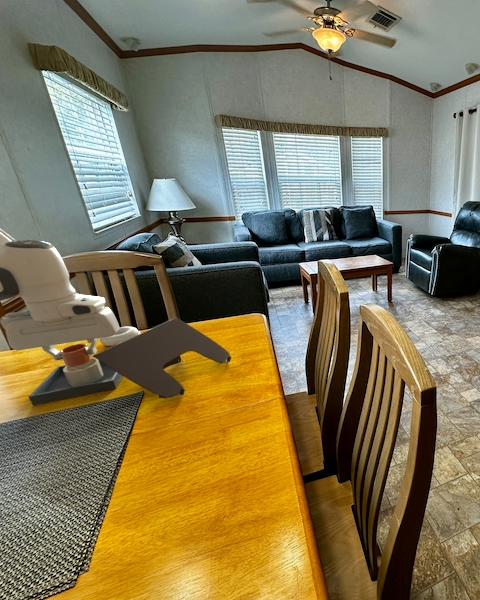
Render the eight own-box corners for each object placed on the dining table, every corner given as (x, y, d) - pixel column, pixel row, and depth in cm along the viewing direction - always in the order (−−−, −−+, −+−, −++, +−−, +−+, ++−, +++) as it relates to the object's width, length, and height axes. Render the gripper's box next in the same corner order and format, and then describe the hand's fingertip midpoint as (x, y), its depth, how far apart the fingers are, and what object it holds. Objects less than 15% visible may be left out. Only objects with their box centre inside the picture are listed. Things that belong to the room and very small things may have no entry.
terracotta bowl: (62, 368, 82) (55, 355, 81) (71, 358, 86) (65, 345, 85) (87, 364, 84) (81, 351, 82) (95, 354, 88) (89, 341, 87)
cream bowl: (64, 389, 83) (57, 374, 81) (76, 375, 89) (70, 361, 87) (98, 383, 86) (92, 368, 84) (107, 369, 91) (102, 355, 90)
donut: (143, 331, 114) (108, 336, 111) (141, 322, 113) (105, 327, 109) (135, 344, 106) (96, 350, 102) (132, 335, 104) (92, 340, 101)
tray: (32, 405, 78) (28, 396, 77) (61, 374, 90) (57, 366, 89) (116, 388, 84) (112, 380, 83) (132, 361, 96) (129, 353, 96)
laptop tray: (166, 423, 81) (170, 399, 77) (91, 375, 82) (91, 349, 78) (234, 372, 101) (240, 350, 97) (173, 334, 103) (176, 311, 99)
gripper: (-13, 319, 73) (15, 372, 78) (102, 305, 80) (120, 353, 86) (5, 309, 78) (30, 359, 83) (111, 296, 86) (128, 343, 91)
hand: (76, 356), depth 85 cm, fingers closed on terracotta bowl, 5 cm apart
